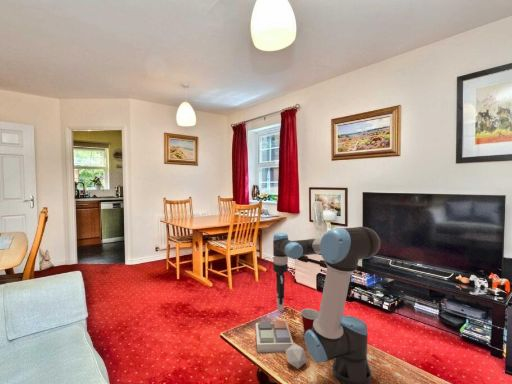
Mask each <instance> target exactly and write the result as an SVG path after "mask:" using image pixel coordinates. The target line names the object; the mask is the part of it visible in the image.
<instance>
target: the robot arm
mask: <svg viewBox="0 0 512 384" xmlns="http://www.w3.org/2000/svg"><path fill="white" fill-rule="evenodd" d="M272 239H273V240H272V246H273V247H272V250H273V251H272V253H273V254H272V255H273V256H272V257H271V260H272V261H273V263H272V270H273V271H274V272H275V273H276V274H275V276H276V307H277V310H278V311H284V299H285V279H286V278H285V277H286V276H285V275H286V274H284V273H287V272H288V270H289V269H288V266H289V264H288V263H289V259H293V260H298V259H299V258H300V257H302V256H311V255H320V256H321V257H322V259H323V260H324V261H323V262H324V263H325V266H326V274H325V278H324V283H323V290H322V295H321V301H320V306H319V311H318V312H319V316H318V318H316V319H315V320H314V322H313V327H312V329H311V330H308V331H306V332H305V333H304V338H303V339H304V343H305V347H306V350H307V352H308V354H309V356H310V357H311V358H312V360H313V361H315V362H316V363H319V364H320V363H323V362H325V363H326V362H329V361H332V360H334V361H333V364H332V373H333V374H332V375H334V377H335V379H336V380H338V381H339V382H340V383H342V384H370V383H371V381H372V370H371V369H370V364H369V362H368V335H369V333H368V325H367V323H366V322H365V321H363V320H362V319H360V318H358V317H355V316H352V315H346V314H345V315H344V310H345V306H346V300H347V296H348V292H349V291H348V290H349V285H350V282H351V276H352V273H354V272H356V271H357V269H358V265H359V261H360V260H364V259H365V260H366V259H370V258H372V257H374V256H375V255H377V253H378V252H379V250H380V248H381V239H380V237H379V235H378V233H377V232H376V231H375V230H374V229H372V228H370V227H367V226H357V227H343V228H342V227H337V228H334V229H332V228H331V229H329V230H327V231H325V233H324V234H323V235H322V237H317V238H309V239H301V240H300V239H299V240H297V239H296V240H290V239H289V235H288V233H285V232H277V233H276V232H275V233H274V234H273V238H272Z"/></svg>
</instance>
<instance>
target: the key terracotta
mask: <svg viewBox="0 0 512 384" xmlns="http://www.w3.org/2000/svg"><path fill="white" fill-rule="evenodd" d="M272 323H273V326H274V331H275V330H287V327H286V324H285V323H286V321H285V320H273V322H272Z"/></svg>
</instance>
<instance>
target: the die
mask: <svg viewBox="0 0 512 384" xmlns="http://www.w3.org/2000/svg"><path fill="white" fill-rule="evenodd" d="M293 343H294V344H293V345H291V346H290V347H289V348H288V349H287V350H286V351H285V352H284V353H285V354H286V355H285V356H286V360H287V363H288V364H289V365H292V366H293V367H294V368H295V369H297V370H299V369H300V368H301V367H302V366H303V365H304V364H305V363H307V361H308V359H307V355H306V352H305V350H304V348H303V347H301V346H300V345H299V344H296V343H295V342H293Z"/></svg>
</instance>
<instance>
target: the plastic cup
mask: <svg viewBox="0 0 512 384" xmlns="http://www.w3.org/2000/svg"><path fill="white" fill-rule="evenodd" d="M300 315H301V321H302V327H303V331H304V332H303V333H304V334H305V332H306V331H308V330H311V329H312V327H313V322H314V320H315V319H316V318H318V316H319V311H318V310H317V309H316V310H315V309H314V308H304V309H302V310H301V311H300Z"/></svg>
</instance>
